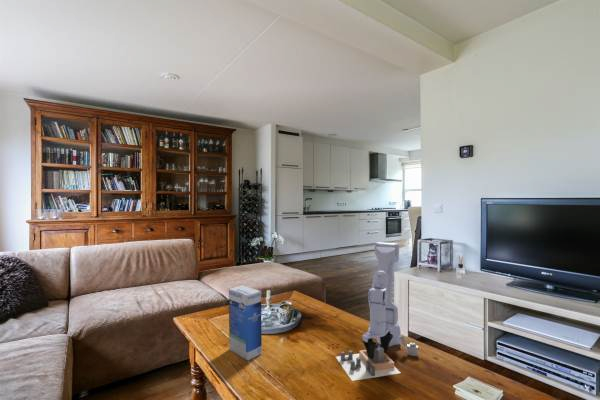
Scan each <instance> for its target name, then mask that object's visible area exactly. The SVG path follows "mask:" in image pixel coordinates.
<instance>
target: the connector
mask: <svg viewBox="0 0 600 400" xmlns="http://www.w3.org/2000/svg"><path fill="white" fill-rule="evenodd" d="M376 343H377V342H376ZM369 359H370V358H369ZM370 360H371V362H372V363H374V364H376V363H383V362H384V348H383V347H381V345H380V344H378V343H377V344H376V346H375V350H374V358H373V359H370Z"/></svg>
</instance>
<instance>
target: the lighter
mask: <svg viewBox="0 0 600 400" xmlns="http://www.w3.org/2000/svg"><path fill="white" fill-rule="evenodd" d="M399 337H400V343H402V346H403V347H404V348H405V347H406V355H407V356H412V357H419V345H417V344H416V343H415V342H410V343H407V341H406V339H405V337H404V334H401V335H400V336H399Z"/></svg>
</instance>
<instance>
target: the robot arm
mask: <svg viewBox="0 0 600 400" xmlns="http://www.w3.org/2000/svg"><path fill="white" fill-rule="evenodd" d="M374 255H375V256H376V260H377V261H378V263H377V271H376V272H374V274H373V278H372V283H371V288H369V289H368V293H367V294H368V296H367V299H368V307H369V327H368V331H366V332H365V333H364V334H362V337H361V342H362V343H363V346H364V347H365V350H366V351H367V355H368V358H370V359H373V358H374V350H375V346H376V344H377V343H378V345H379V346H381V347H383V348H384V353H385V354H387V353H388V349H389V347H392V346H395V345H401V340H400V337H399V336H400V335H402V334H401V326H400V325H399V323H398V320H399V311H398V310H399V308H398V305H397V304H396V303H395V302H393V300H392V296H393V276H394V275H393V273H394V265H395V264H396V263H398V262H399V259H400V244H399V243H398V242H396V243H395V242H383V241H382V242H381V241H380V242H379V241H376V242H375V244H374ZM375 338H376V342H375V341H374V339H375Z"/></svg>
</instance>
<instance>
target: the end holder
mask: <svg viewBox="0 0 600 400" xmlns="http://www.w3.org/2000/svg"><path fill="white" fill-rule="evenodd" d="M358 354H359V356H360V357H361V358H362V360H363V361H364V362H365V363H366V361H370V362H371V360H370V359H369V358H368V357H367V356H368V355H367V351H366V349H361V350H359V351H358ZM384 360H385V361H386V362H383V363H376V364H373V363H372V362H371V366H374V367H375V371H377V370H383V369H390V368H394V367H395V361H393V359H391V358H390V357H389V355H387V353H384Z"/></svg>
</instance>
